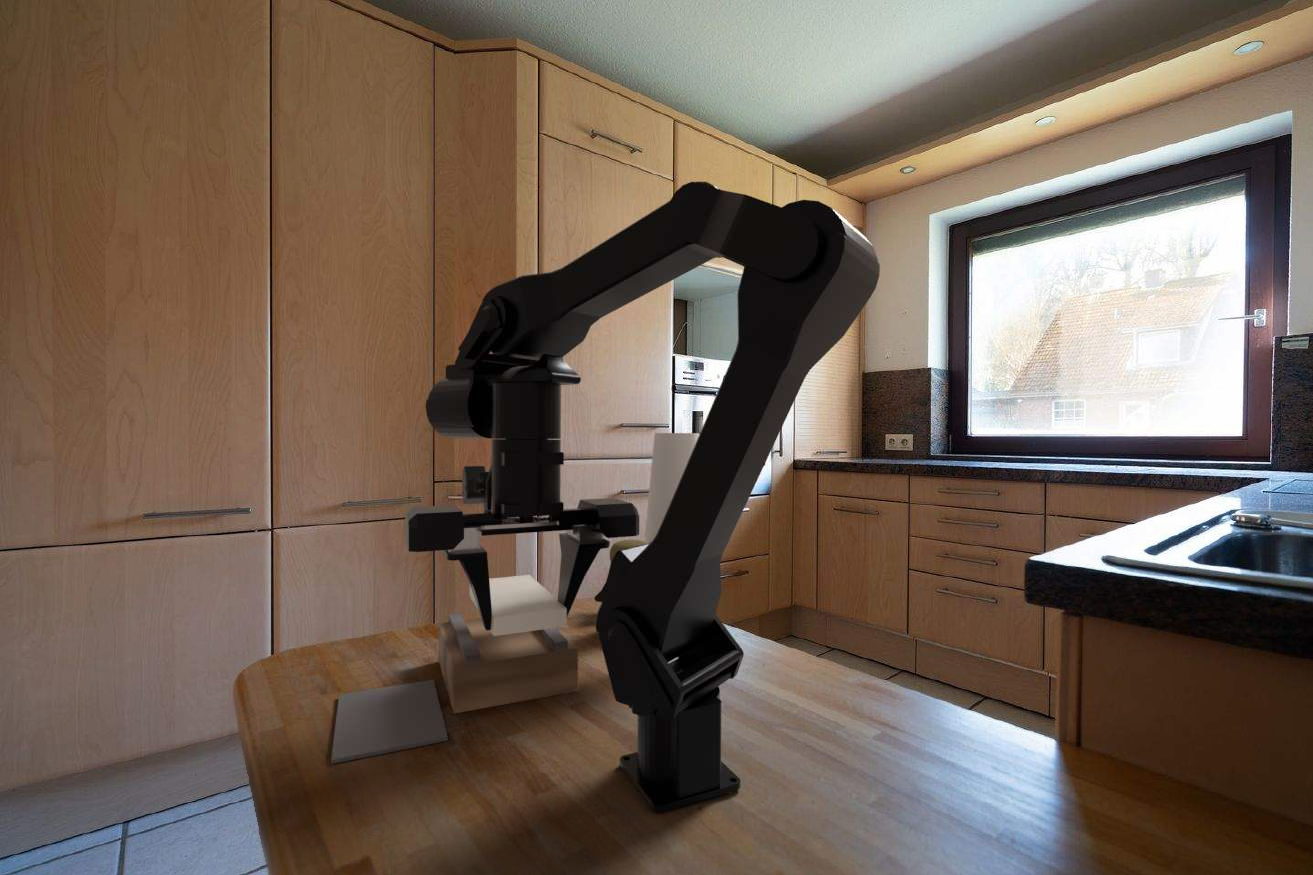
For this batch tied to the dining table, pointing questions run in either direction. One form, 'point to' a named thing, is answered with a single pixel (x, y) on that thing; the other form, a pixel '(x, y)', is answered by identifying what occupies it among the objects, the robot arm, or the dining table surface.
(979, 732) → the dining table surface
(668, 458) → the champagne flute
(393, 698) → the mat
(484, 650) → the lid box
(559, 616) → the cover plate
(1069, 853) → the dining table surface
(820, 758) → the dining table surface
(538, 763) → the dining table surface
